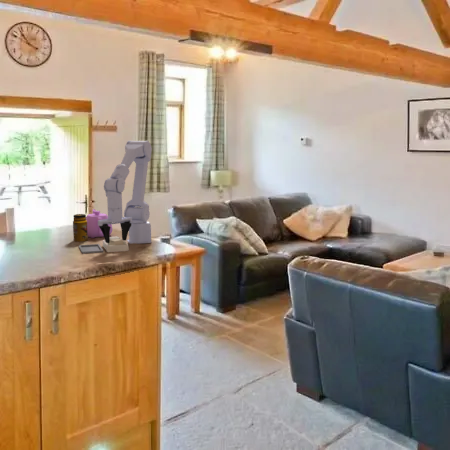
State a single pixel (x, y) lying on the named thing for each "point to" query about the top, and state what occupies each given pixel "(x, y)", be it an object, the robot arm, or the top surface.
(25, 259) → the top surface
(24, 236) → the top surface
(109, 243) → the light gray cube
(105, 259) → the top surface
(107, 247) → the cream dish
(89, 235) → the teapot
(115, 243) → the beige cube
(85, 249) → the slate tray
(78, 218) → the condiment
